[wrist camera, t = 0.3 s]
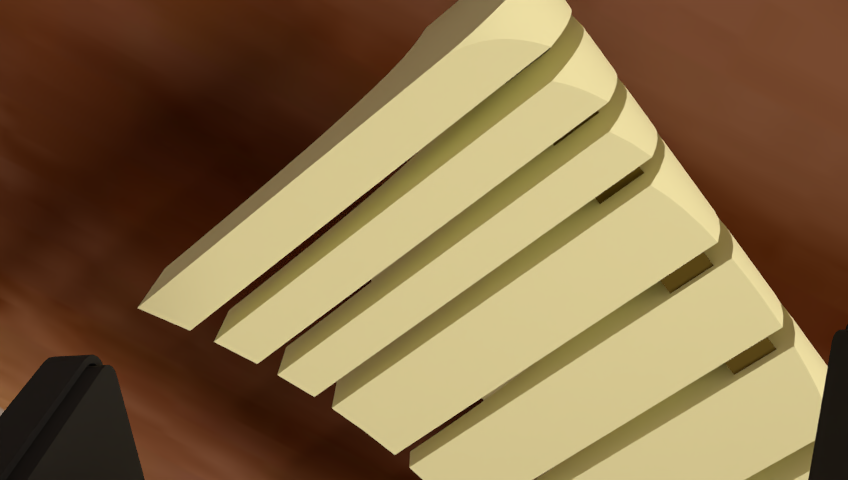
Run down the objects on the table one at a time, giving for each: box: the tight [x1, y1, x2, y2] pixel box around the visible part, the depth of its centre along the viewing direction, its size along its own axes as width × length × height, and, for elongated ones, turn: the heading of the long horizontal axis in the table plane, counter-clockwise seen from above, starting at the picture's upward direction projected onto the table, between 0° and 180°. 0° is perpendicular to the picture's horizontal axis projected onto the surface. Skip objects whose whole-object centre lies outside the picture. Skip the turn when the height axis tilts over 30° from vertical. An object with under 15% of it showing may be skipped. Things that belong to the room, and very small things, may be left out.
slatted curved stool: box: [138, 0, 828, 480], centre depth 36 cm, size 30×16×18 cm, turn 39°
